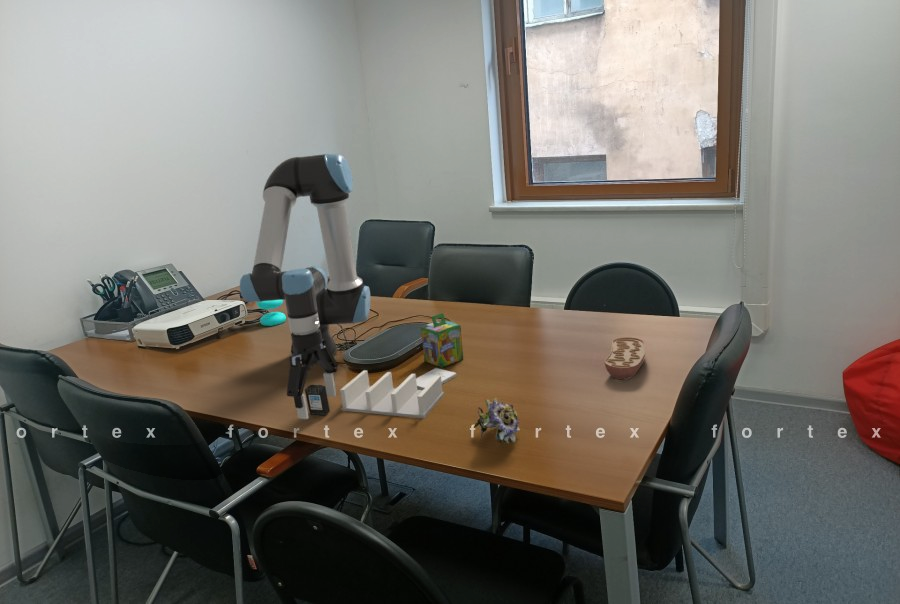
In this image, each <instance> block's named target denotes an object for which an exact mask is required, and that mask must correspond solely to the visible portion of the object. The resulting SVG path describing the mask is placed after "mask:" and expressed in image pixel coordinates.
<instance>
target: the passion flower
mask: <svg viewBox="0 0 900 604" xmlns="http://www.w3.org/2000/svg"><path fill="white" fill-rule="evenodd" d="M484 402H485V405H486V407H487V410H488V411H487V412H485V413H484V410H483V408H482V407H481V406H478V407H477V408H476V409H477V410H476V411H477V414H478V415H479V418H478V419H477V421H476V422H475V423H474V426H473V428H477V426H480V438H482V436H483V434H484V433H486V432H487V429H488V428H489V429H492V428H495V429H497V432H496V434H495V439H496V440H497V442H503V443H504V444H506V445H508V444H509V442H510V443H512V444H514V443H516V432H519V431H520V430H521V429H520V427H519V423H520V420H519V419H518V413H517V411H516V410H515V408H514V405H513V404H511V403H510V405H509V404H507V403H505V402H503V401H502V402H498V398H497V397H494V398H493V401H492V402H493V403H492V402H490V400H489V399H485V401H484ZM479 410H480V411H479Z"/></svg>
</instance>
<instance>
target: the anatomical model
mask: <svg viewBox="0 0 900 604" xmlns="http://www.w3.org/2000/svg"><path fill="white" fill-rule="evenodd" d="M645 357H646V343H645V341H644V340H643V339H640V338H638V337H630V336H626V337H625V336H623V337H619V338H618V337H617V338H616V339H612V342H611V350H610V353H609V355H607V357H606V358H605V359H604V366H605V370H606V372H607V373H608V374H609V375H610V376H611V377H613V378H615V379H618V380H627V379H630V378H632V377H633V376H635V375H636V373H638V370H639V369H640V367H642V364H643V363H644V360H645Z"/></svg>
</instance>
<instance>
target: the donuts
mask: <svg viewBox="0 0 900 604" xmlns="http://www.w3.org/2000/svg"><path fill="white" fill-rule="evenodd" d="M283 303H284V300H271V301H262V302H256V306H257V307H258V308H259V309H261V310H265V311H266V310H273V309H277V308H279V307H280V306H282V304H283ZM286 316H287V315H286V314H285V313H283V312H280V311H272V312H267V313H265V314H263V315H262V316H261V317H260V319H259V322H260V324H261V325H262V326H265V327H271V326H272V327H273V326H277V325H281V324H283V323H284V322H286V319H287V317H286Z"/></svg>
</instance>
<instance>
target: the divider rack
mask: <svg viewBox="0 0 900 604" xmlns="http://www.w3.org/2000/svg"><path fill="white" fill-rule="evenodd" d="M368 372H369V371H368V370H365V369H364V370H362V371H361V372H360V373H359V374H357V375H356V376H355V377H353V378H352V380H350V381H349V382H348V383H346V384H345V385H344V386H343V387H341V388H340V389H339V390H340V397H341V405H342V407H341V408H340V410H341V411H345V412H354V413H355V412H356V413H366V414H374V415H375V414H377V415H384V416H385V415H386V416H396V417H397V416H398V417H403V418H404V417H407V418H417V419H425V418H426V417H427V416H428V415H429V413H430V412H431V411H432V410H433V408H434V407H435V406H436V405H437V404H438V403H439V401H440V400H441V399H442V398H443V397H444V396H445V391H443V384H442V382H441V376H438V375H437V376H436V377H435V378H434V379H433V380H432V381H431V382H430V383H429V384H428V385H427V386H426V387H425V389H424V390H418V389H417V382H416V378H417V376H416V373H411V374H409V375H408V376H407V377H406V378H405V379H404V381H402V382H401V383H400V384H399V385H398V386H397V387H394V384H393V377H392V371H387V372H385V373H384V374H383V376H381V377H380V378H379V379H378V380H377V381H375V383H373V385H370V379H369V378H370V377H369V373H368Z"/></svg>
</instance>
